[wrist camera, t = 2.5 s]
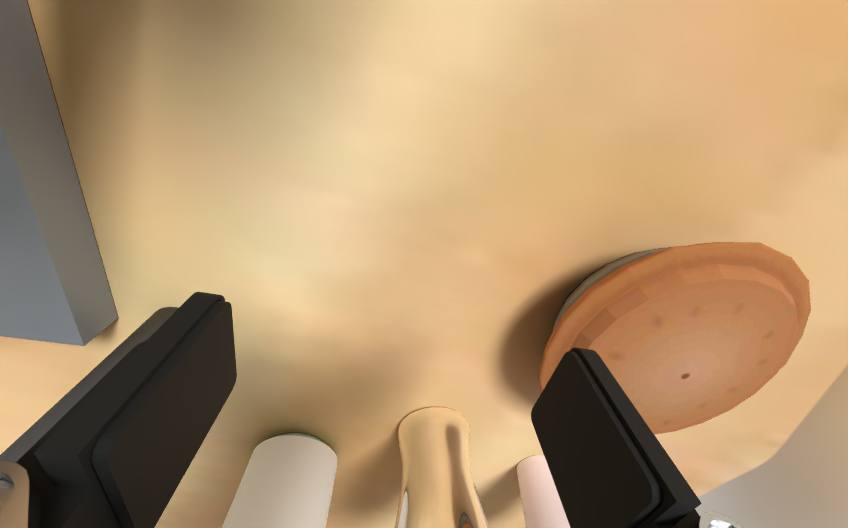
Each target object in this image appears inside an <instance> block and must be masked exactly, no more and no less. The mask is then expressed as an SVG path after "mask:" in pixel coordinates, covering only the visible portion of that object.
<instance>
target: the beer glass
mask: <svg viewBox="0 0 848 528" xmlns="http://www.w3.org/2000/svg"><path fill="white" fill-rule="evenodd" d="M398 441H399V447H400V453H401V461H402V484H401V492H400V499H399V505H398V511H397V516H396V522H395V528H489V525H488V522H487V519H486V516H485V513H484V510H483V507H482V504H481V501H480V498H479V495H478V492H477V489H476V486H475V483H474V479H473V474H472V470H471V463H470V427H469V423H468V421H467V419H466V418H465V417H464V416H463V415H462V414H461V413H459V412H457V411H455V410H453V409H449V408H444V407H428V408H423V409H420V410H417V411H414V412H412V413H411V414H409V415H408V416H406V417H405V418H404V419H403V420H402V422H401V423H400V425H399V428H398Z"/></svg>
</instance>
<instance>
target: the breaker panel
mask: <svg viewBox="0 0 848 528" xmlns="http://www.w3.org/2000/svg"><path fill="white" fill-rule="evenodd" d="M116 319H118V315H117V312H116V308H115V305H114V301H113V298H112V295H111V291H110V288H109V284H108V281H107V277H106V274H105V270H104V267H103V263H102V260H101V256H100V253H99V250H98V246H97V243H96V239H95V236H94V232H93V229H92V225H91V222H90V218H89V215H88V211H87V208H86V205H85V201H84V198H83V194H82V191H81V187H80V184H79V180H78V177H77V173H76V170H75V166H74V163H73V160H72V156H71V153H70V149H69V146H68V142H67V139H66V135H65V132H64V128H63V125H62V121H61V118H60V115H59V111H58V108H57V104H56V101H55V97H54V94H53V90H52V87H51V83H50V80H49V76H48V73H47V70H46V66H45V63H44V59H43V56H42V52H41V49H40V45H39V42H38V38H37V35H36V31H35V28H34V25H33V21H32V18H31V14H30V11H29V7H28V4H27V0H0V336H4V337H13V338H21V339H29V340H38V341H46V342H55V343H63V344H72V345H80V346H85V345H86V344H87V343H88V342H90V341H91V340H92V339H93V338H94V337H96V336H97V335H98V334H99V333H101V332H102V331H103V330H104V329H105V328H107V327H108V326H109V325H110V324H111V323H113V322H114V321H115V320H116Z"/></svg>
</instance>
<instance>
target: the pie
mask: <svg viewBox="0 0 848 528" xmlns="http://www.w3.org/2000/svg"><path fill="white" fill-rule="evenodd" d="M810 311H811V305H810V292H809V280H808V279H807V278H806V276H805V275H804V274H803V272H802V271H801V270H800V268H799V267H798V265H797V264H796V263H795V261H794V260H793V259H792V258H791V257H789V256H787V255H785V254H783V253H780V252H778V251H776V250H774V249H772V248H770V247H768V246H766V245H763V244H761V243H734V242H715V243H703V244H695V245H689V246H680V247H669V248H659V249H654V250H648V251H642V252H637V253H633V254H630V255H628V256H626V257H623V258H621V259H618V260H616V261H613V262H611V263H609V264H607V265H605V266H604V267H602V268H601V269H599V270H598V271H596V272H595V273H593V274H592V275H590V276H589V277H588V278H586V279H585V280H584V281H583V282H582V283H581V284H580V285H579V286H578V287H577V288H576V289H575V290H574V291H573V292H572V293H571V294H570V295H569V296H568V298H567V299H566V301H565V303H564V304H563V306H562V308H561V310H560V312H559V313H558V315H557V317H556V321H555V324H554V328H553V331H552V335H551V337H550V338H549V340H548V343H547V345H546V348H545V351H544V355H543V359H542V363H541V367H540V371H539V375H538V378H539V382H540V387H541V391H543V390H544V388H545V386H546V385H547V383H548V381H549V379H550V378H551V376H552V374H553V373H554V371H555V369H556V367H557V366H558V364H559V362H560V361H561V359H562V357H563V355H564V354H565V353H566V352H569V351H570V350H571V349H572V348H583V349H590V350H594V351H596V352H597V353H598V354H599V356H600V357H601V359H602V360H603V362H604V363H605V365H606V366H607V367H608V369H609V370H610V372H611V373H612V375H613V376H614V378H615V379H616V380H617V382H618V383H619V385H620V386H621V388H622V389H623V391H624V392H625V393H626V395H627V396H628V398H629V399H630V401H631V402H632V404H633V405H634V406H635V408H636V409H637V411H638V412H639V414H640V415H641V417H642V418H643V419H644V421H645V422H646V424H647V425H648V427H649V428H650V430H651V431H652V432H653V434H660V433H666V432H673V431H677V430H680V429H684V428H687V427H690V426H694V425H697V424H700V423H703V422H705V421H707V420H710V419H712V418H714V417H716V416H718V415H720V414H722V413H725V412H727V411H729V410H731V409H732V408H734V407H735V406H737V405H738V404H740V403H741V402H743V401H745V400H746V399H748V398H749V397H751V396H752V395H754V394H755V393H756V392H757V391H758V390H760V389H761V388H762V387H763V386H764V385H765V384H766V383H767V382H768V381H769V380H770V379H771V378H773V377H774V376H775V375H776V374H777V372H778V371H779V370H780V369H781V368H782V367H783V366H784V365H785V364H786V363H787V361H788V359H789V358H790V356H791V354H792V352H793V351H794V349H795V347H796V346H797V344H798V342H799V340H800V339H801V337H802V335H803V332H804V329H805V326H806V323H807V320H808V317H809V314H810Z"/></svg>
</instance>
